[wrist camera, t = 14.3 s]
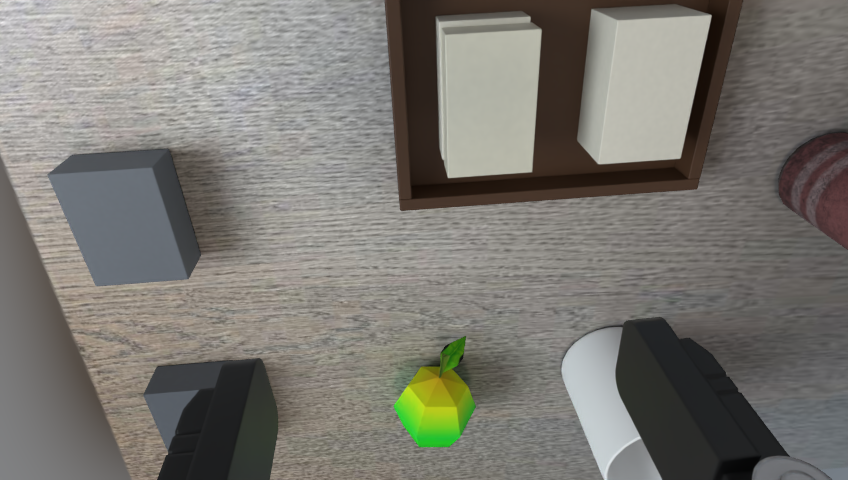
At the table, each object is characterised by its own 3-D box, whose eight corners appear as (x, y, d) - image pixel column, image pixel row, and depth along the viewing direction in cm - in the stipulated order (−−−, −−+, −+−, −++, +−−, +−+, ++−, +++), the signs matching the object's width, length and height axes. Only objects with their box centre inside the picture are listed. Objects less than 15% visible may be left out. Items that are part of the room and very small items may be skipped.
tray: (381, -48, 29) (381, -45, 27) (731, -67, 30) (759, -65, 28) (398, 193, 37) (400, 211, 35) (678, 173, 38) (697, 189, 36)
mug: (550, 391, 48) (590, 500, 39) (574, 322, 44) (625, 426, 35) (676, 396, 50) (743, 502, 41) (711, 330, 46) (793, 431, 37)
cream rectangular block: (591, 8, 31) (617, 20, 28) (675, 3, 31) (712, 14, 28) (576, 140, 35) (598, 164, 32) (651, 135, 36) (680, 158, 32)
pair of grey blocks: (71, 154, 34) (46, 174, 31) (169, 148, 34) (152, 167, 32) (183, 433, 47) (172, 463, 45) (253, 427, 48) (246, 456, 45)
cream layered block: (435, 15, 31) (443, 28, 27) (524, 10, 31) (542, 22, 28) (439, 152, 35) (446, 178, 32) (517, 147, 35) (532, 172, 32)
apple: (440, 483, 42) (451, 401, 37) (377, 439, 45) (380, 358, 40) (487, 425, 47) (502, 346, 42) (428, 389, 50) (436, 312, 45)
